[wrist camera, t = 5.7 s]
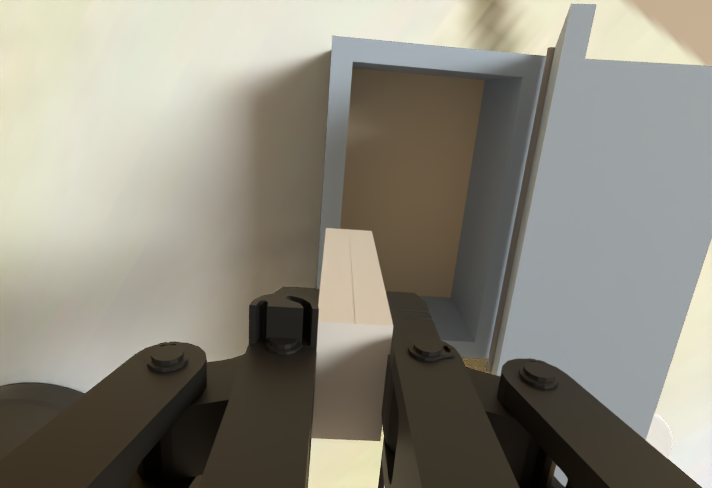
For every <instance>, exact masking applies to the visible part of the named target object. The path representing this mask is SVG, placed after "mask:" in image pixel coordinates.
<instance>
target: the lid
mask: <svg viewBox="0 0 712 488" xmlns="http://www.w3.org/2000/svg"><path fill="white" fill-rule="evenodd" d="M595 9H596V4H571V6H570V9H569V11H568V14H567V17H566V20H565V22H564V25H563V28H562V31H561V33H560V36H559V39H558V42H557V44H556V47H550V48H548V50H547V56H546V61H545V66H544V71H543V76H542V82H541V87H540V92H539V97H538V102H537V108H536V113H535V118H534V123H533V128H532V134H531V139H530V144H529V149H528V155H527V160H526V165H525V170H524V175H523V181H522V186H521V191H520V196H519V201H518V207H517V212H516V217H515V222H514V227H513V233H512V238H511V243H510V248H509V253H508V259H507V264H506V269H505V274H504V279H503V285H502V290H501V295H500V300H499V306H498V311H497V316H496V321H495V326H494V332H493V337H492V342H491V347H490V352H489V358H488V363H487V370H488V371H490V372H492V373H491V374H492V375H497V376H500V375H501V370H502V366H503V365H504V364H505V363H506V362H507V361H509V360H513V359H517V358H519V359H528V358H531V359H536V360H541V361H544V362H546V363H548V364H550V365H552V366H555V367H557V368H559V369H560V370H562V371H563V372H565V373H566V374H568V375H569V376H570V377H571V378H572V379H574V380H575V381H576V382H577V383H578V384H580V385H581V386H582V387H583V388H584V389H585V390H587V391H588V392H589V393H590V394H591V395H593V396H594V397H595V398H596V399H597V400H599V401H600V402H601V403H602V404H603V405H604V406H606V407H607V408H608V409H609V410H610V411H612V412H613V413H614V414H615V415H616V416H618V417H619V418H620V419H621V420H622V421H623V422H625V423H626V424H627V425H628V426H629V427H631V428H632V429H633V430H634V431H635V432H637V433H638V434H639V435H640V436H641V437H642V438H644V439H645V440H646V438H647V435H648V431H649V428H650V425H651V422H652V419H653V416H654V413H655V410H656V407H657V404H658V401H659V398H660V395H661V392H662V388H663V385H664V382H665V379H666V376H667V373H668V370H669V367H670V364H671V361H672V358H673V355H674V352H675V349H676V346H677V342H678V339H679V336H680V333H681V330H682V327H683V324H684V321H685V318H686V315H687V312H688V309H689V306H690V303H691V299H692V296H693V293H694V290H695V287H696V284H697V281H698V278H699V275H700V272H701V269H702V266H703V263H704V260H705V257H706V253H707V250H708V247H709V244H710V241H711V238H712V66H701V65H683V64H666V63H648V62H630V61H613V60H595V59H585V56H586V51H587V46H588V42H589V37H590V32H591V28H592V23H593V18H594V14H595ZM554 476H555V477H556V479H557V480H558V481H559V482H560V483H561V484H562V485H563V486H564V487H565V486H566V484H567V481H568V478H567V477H566V475H565V474H564V473H563V472H562V470H561V469H560V468H559V467H558V466H557V465H556V468H555V472H554Z"/></svg>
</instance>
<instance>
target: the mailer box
mask: <svg viewBox="0 0 712 488" xmlns="http://www.w3.org/2000/svg"><path fill="white" fill-rule="evenodd" d="M545 61H546V56H539V55H528V54H518V53H508V52H497V51H487V50H476V49H466V48H455V47H445V46H434V45H424V44H413V43H403V42H392V41H382V40H372V39H361V38H351V37H340V36H332V52H331V68H330V83H329V99H328V115H327V130H326V146H325V162H324V177H323V193H322V209H321V224H320V240H319V256H318V271H317V287H316V289H320V282H321V273H322V263H323V253H324V243H325V233H326V228H334V229H350V230H365V231H372V234H373V238H374V243H375V247H376V251H377V256H378V260H379V265H380V269H381V274H382V278H383V282H384V287H385V291H389V292H406V293H415V294H416V295H418V296H419V297H420V298H421V299H423V300H424V301H425V302H426V305H427V307H428V309H429V313H430V314H431V317H432V321H433V322H434V324H435V327H436V329H437V332H438V334H439V337H440V339H441V341H444V342H446V343H448V344H449V345H451V346H453V347H454V348H455V349H456V350H457V352H458V353H459V354H460V356H461V357H465V358H483V359H488V358H489V352H490V347H491V342H492V337H493V332H494V326H495V321H496V316H497V311H498V306H499V300H500V295H501V290H502V285H503V279H504V274H505V269H506V264H507V259H508V253H509V248H510V243H511V238H512V233H513V227H514V222H515V217H516V212H517V207H518V201H519V196H520V191H521V186H522V181H523V175H524V170H525V165H526V160H527V155H528V149H529V144H530V139H531V134H532V128H533V123H534V118H535V113H536V108H537V102H538V97H539V92H540V87H541V82H542V76H543V71H544V66H545Z"/></svg>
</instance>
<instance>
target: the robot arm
mask: <svg viewBox="0 0 712 488" xmlns="http://www.w3.org/2000/svg"><path fill="white" fill-rule="evenodd" d="M382 424H383V432H384V442H383V450H382V459H381V468H380V476H379V485H378V488H384V486H385V488H702V487H701V486H700V485H698V484H697V483H696V482H695V481H694V480H692V479H691V478H690V477H689V476H688V475H686V474H685V473H684V472H683V471H682V470H681V469H679V468H678V467H677V466H676V465H675V464H673V463H672V462H671V461H670V460H669V459H667V458H666V457H665V456H664V455H663V454H662V453H660V452H659V451H658V450H657V449H656V448H654V447H653V446H652V445H651V444H650V443H648V442H647V441H646V440H645V439H644V438H642V437H641V436H640V435H639V434H638V433H637V432H635V431H634V430H633V429H632V428H631V427H629V426H628V425H627V424H626V423H625V422H623V421H622V420H621V419H620V418H619V417H618V416H616V415H615V414H614V413H613V412H612V411H610V410H609V409H608V408H607V407H606V406H604V405H603V404H602V403H601V402H600V401H599V400H597V399H596V398H595V397H594V396H593V395H591V394H590V393H589V392H588V391H587V390H585V389H584V388H583V387H582V386H581V385H580V384H578V383H577V382H576V381H575V380H574V379H572V378H571V377H570V376H569V375H568V374H566V373H565V372H563V371H562V370H560V369H559V368H557V367H555V366H552V365H550V364H548V363H546V362H544V361H541V360H536V359H531V358H528V359H519V358H517V359H513V360H509V361H507V362H506V363H505V364H504V365H503V366H502V370H501V375H500V376H497V375H492V374H488V373H484V372H480V371H476V370H473V369H470V368H468V367H465V365H464V363H463V361H462V358H461V356H460V354H459V353H458V352H457V350H456V349H455V348H454V347H453V346H451V345H449V344H448V343H446V342H444V341H441V339H440V337H439V334H438V332H437V329H436V327H435V324H434V322H433V321H432V317H431V314H430V313H429V309H428V307H427V305H426V302H425V301H424V300H423V299H421V298H420V297H419V296H418V295H416V294H415V293H406V292H389V291H385V287H384V282H383V278H382V274H381V269H380V265H379V260H378V256H377V251H376V247H375V243H374V238H373V234H372V231H365V230H350V229H334V228H326V233H325V243H324V253H323V263H322V273H321V282H320V289H315V288H298V287H282V288H281V289H280V290H278V291H277V292H275V293H274V294H269V295H264V296H261V297H259V298H257V299H255V300H254V301H253V302H252V303H251V304H250V305H249V345H248V348H247V351H246V353H245V354H243V355H241V356H238V357H235V358H232V359H227V360H222V361H214V362H207V359H206V354H205V352H204V351H203V350H202V349H201V348H200V347H198V346H195V345H192V344H189V343H180V342H169V343H167V342H165V343H160V344H158V345H154V346H151V347H148V348H145V349H144V350H142V351H140V352H138V353H137V354H135V355H134V356H132V357H131V358H130V359H129V360H127V361H126V362H125V363H124V364H122V365H121V366H120V367H118V368H117V369H116V370H115V371H113V372H112V373H111V374H110V375H108V376H107V377H106V378H104V379H103V380H102V381H101V382H99V383H98V384H97V385H96V386H94V387H93V388H92V389H90V390H89V391H88V392H87V393H85V394H83V393H81V392H78V391H75V390H72V389H69V388H65V387H61V386H56V385H50V384H41V383H21V384H12V385H7V386H3V387H0V488H308V477H309V464H310V450H311V438H321V439H345V440H369V441H380V439H381V430H382ZM556 465H557V466H558V467H559V468H560V469H561V470H562V472H563V473H564V474H565V475H566V477H567V478H568V481H567V484H566V486H565V487H564V486H563V485H562V484H561V483H560V482H559V481H558V480H557V479H556V477H555V476H554V472H555V468H556Z"/></svg>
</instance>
